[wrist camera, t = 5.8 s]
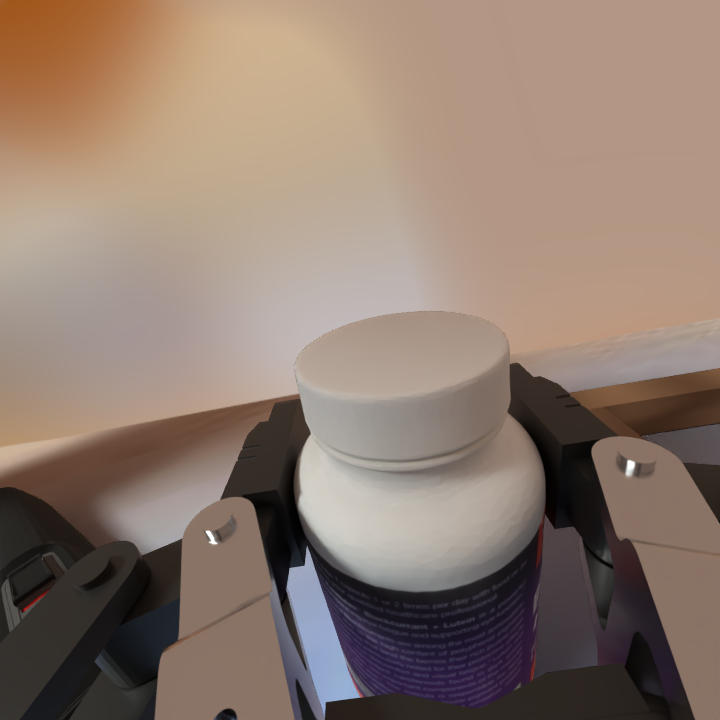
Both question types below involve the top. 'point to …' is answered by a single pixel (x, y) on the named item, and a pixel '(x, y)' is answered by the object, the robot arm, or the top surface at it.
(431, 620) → the pill bottle
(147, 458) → the top surface
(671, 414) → the socket block
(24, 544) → the electric trimmer
